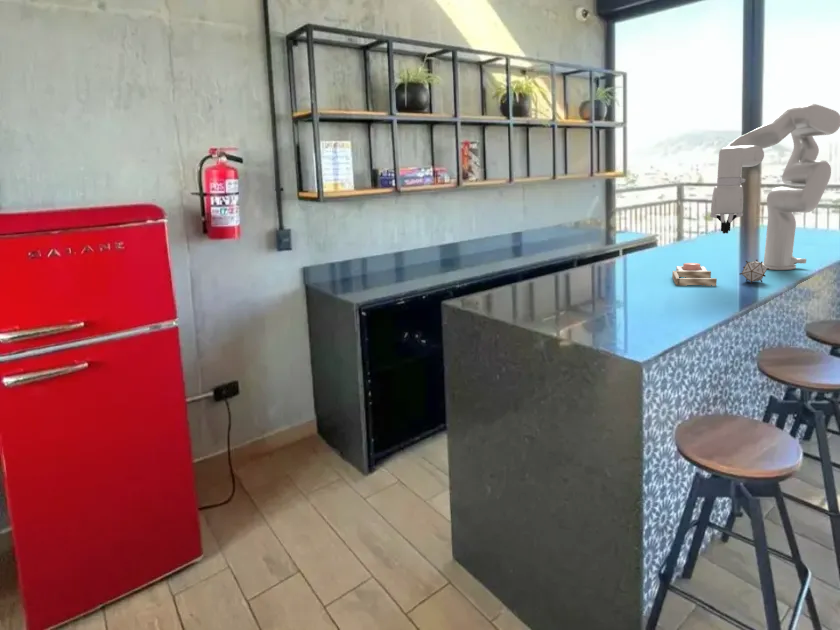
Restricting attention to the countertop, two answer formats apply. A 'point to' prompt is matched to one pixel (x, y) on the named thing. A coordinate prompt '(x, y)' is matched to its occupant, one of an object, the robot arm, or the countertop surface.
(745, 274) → the game die
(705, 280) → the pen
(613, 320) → the countertop surface
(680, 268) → the collar
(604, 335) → the countertop surface
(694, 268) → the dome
